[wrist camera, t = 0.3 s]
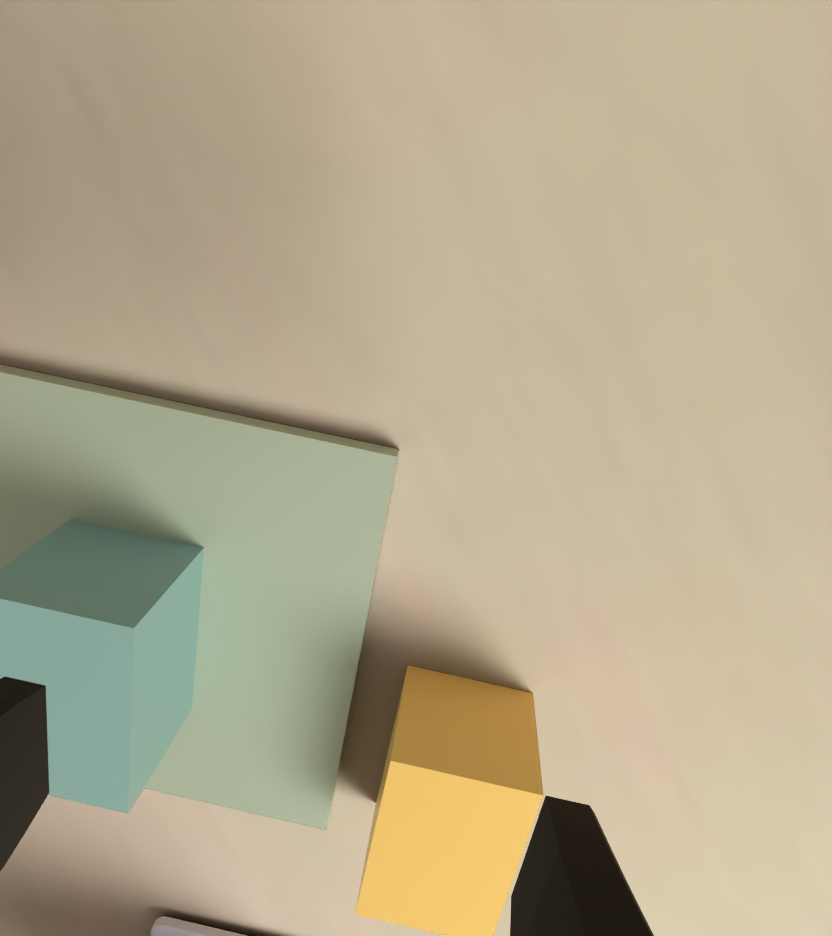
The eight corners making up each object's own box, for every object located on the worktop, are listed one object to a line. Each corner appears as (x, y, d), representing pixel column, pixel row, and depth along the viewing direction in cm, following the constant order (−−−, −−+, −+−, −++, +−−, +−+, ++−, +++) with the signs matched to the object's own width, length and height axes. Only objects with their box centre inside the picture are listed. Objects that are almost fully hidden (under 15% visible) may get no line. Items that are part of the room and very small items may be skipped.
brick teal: (192, 708, 21) (127, 813, 17) (72, 681, 21) (-16, 779, 17) (204, 547, 19) (133, 628, 15) (70, 518, 19) (-32, 591, 15)
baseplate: (329, 815, 23) (326, 830, 22) (-51, 728, 23) (-64, 740, 23) (399, 449, 18) (396, 456, 17) (-91, 345, 18) (-109, 348, 17)
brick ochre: (488, 825, 22) (489, 945, 19) (376, 800, 23) (354, 914, 19) (532, 690, 20) (543, 795, 17) (408, 662, 20) (390, 760, 17)
